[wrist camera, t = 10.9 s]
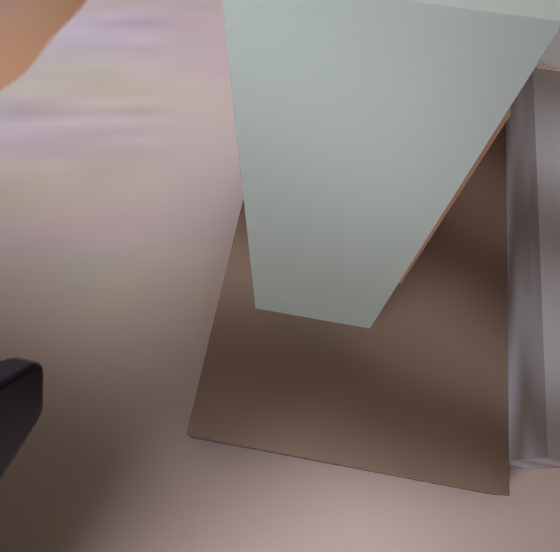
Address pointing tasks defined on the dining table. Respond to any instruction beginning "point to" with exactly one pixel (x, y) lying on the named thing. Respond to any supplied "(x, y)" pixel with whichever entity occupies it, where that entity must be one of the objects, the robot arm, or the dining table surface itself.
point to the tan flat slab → (417, 338)
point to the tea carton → (365, 133)
